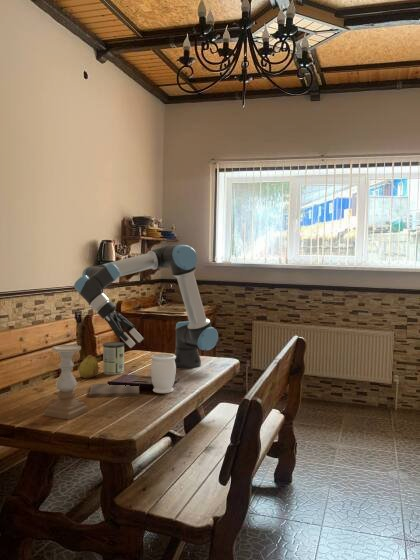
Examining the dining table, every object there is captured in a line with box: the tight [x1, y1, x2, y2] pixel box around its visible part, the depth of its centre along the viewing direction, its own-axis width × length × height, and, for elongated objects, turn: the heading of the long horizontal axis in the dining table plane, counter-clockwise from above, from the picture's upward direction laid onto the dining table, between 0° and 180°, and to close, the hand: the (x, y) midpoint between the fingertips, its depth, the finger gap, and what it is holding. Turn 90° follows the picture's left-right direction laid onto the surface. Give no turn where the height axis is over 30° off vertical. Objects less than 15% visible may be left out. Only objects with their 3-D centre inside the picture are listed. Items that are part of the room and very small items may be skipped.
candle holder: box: [44, 344, 89, 421], centre depth 176 cm, size 11×11×24 cm
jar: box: [150, 353, 177, 394], centre depth 207 cm, size 11×10×15 cm
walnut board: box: [88, 383, 140, 398], centre depth 207 cm, size 20×16×1 cm
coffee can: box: [102, 341, 125, 376], centre depth 239 cm, size 10×10×14 cm
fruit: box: [78, 351, 100, 379], centre depth 229 cm, size 9×9×12 cm
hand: (137, 343), depth 208 cm, fingers open, 13 cm apart
